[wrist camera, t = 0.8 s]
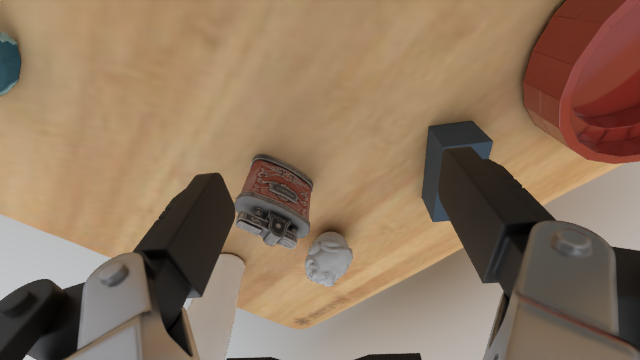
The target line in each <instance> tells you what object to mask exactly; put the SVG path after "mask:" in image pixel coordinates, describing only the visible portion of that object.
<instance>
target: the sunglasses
mask: <svg viewBox="0 0 640 360" xmlns="http://www.w3.org/2000/svg"><path fill="white" fill-rule="evenodd" d="M17 44H18V43H17V42H16V41H15V40H13V39H12V38H11V37H10V36H9V35H8V34H7V33H3V32H0V96H1V95H3V94H6V93H7V92H8V91H9V90H10V89H11V88H12V87H13V86H14V85H15V84H16V83H17V82H18V77H19V71H20V65H21V60H20V56H19V52H18V48H17Z"/></svg>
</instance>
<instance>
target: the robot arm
mask: <svg viewBox="0 0 640 360" xmlns="http://www.w3.org/2000/svg"><path fill="white" fill-rule="evenodd" d="M438 195H439V199H440V202H441V204H442V206H443V208H444V210H445V212H446V214H447V216H448V218H449V220H450V221H451V223H452V225H453V227H454V229H455V231H456V233H457V235H458V237H459V239H460V241H461V242H462V244H463V246H464V248H465V250H466V252H467V254H468V256H469V258H470V259H471V262H472V263H473V265H474V267H475V269H476V271H477V273H478V275H479V277H480V279H481V281H482V283H500V285H501V287H502V289H503V290H504V291H503V294H502V296H501V299H500V302H499V306H498V309H497V313H496V317H495V320H494V324H493V327H492V330H491V334H490V337H489V341H488V344H487V348H486V351H485V354H484V358H483V360H640V251H637V250H630V249H624V248H617V247H611V246H610V245H609V244H608V243H607V242H606V241H605V240H604V239H603V238H601V237H600V236H599V235H597V234H596V233H594V232H592V231H590V230H588V229H586V228H584V227H581V226H579V225H576V224H573V223H569V222H564V221H556V220H555V219H554V217H553V216H552V215H550V213H548V211H547V210H546V209H545V208H544V207H543V206H542V205H541V204H540V203H539V202H538V201H537V200H536V199H535V198H534V197H533V196H532V195H531V194H530V193H529V192H528V191H527V190H526V189H525V188H522V185H521V184H520V183H519V182H518V181H517V180H516V179H514V178H513V176H512V175H511V174H510V173H509V172H508V171H507V170H506V169H505V168H504V167H503V166H501V165H499V164H497V163H495V162H493V161H491V160H489V159H482V158H481V157H480V156H479V155H478V154H477V152H476V151H475V150H474V149H473V148H472V147H471V146H464V147H454V148H446V149H444V151H443V154H442V160H441V167H440V174H439V181H438ZM234 219H235V206H234V203H233V201H232V198H231V196H230V194H229V191H228V189H227V187H226V185H225V182H224V180H223V178H222V176H221V175H220V174H219V173H208V174H199V175H196V176H195V177H194V178H193V180H192V181H191V183H190V184H189V185H188V187H187V188H186V189H184V190H183V191H182V192H181V193H179V194H178V195H177V196H176V197H174V198H173V199H172V200H171V202H170V203H169V204H168V206H167V207H166V208H165V211H163V212H162V214H161V215H160V216H159V220H156V222H155V223H154V224H153V226H152V227H151V228H150V230H149V231H148V232H147V234H146V235H145V236H144V237H143V239H142V240H141V241H140V243H139V244H138V245H137V247H136V248H135V249H134V251H133V252H130V253H124V254H121V255H118V256H116V257H114V258H112V259H110V260H108V261H107V262H105V263H103V264H102V265H101V266H99V267H98V268H97V269H96V270H95V271H94V272H93V273H92V274H91V275H90V277H89V278H88V279H87V281H86V282H84V283H81V284H78V285H75V286H72V287H69V288H66V289H63V290H62V289H61V288H60V287H59V286H57V285H56V284H55V283H54V282H52V281H51V280H48V279H41V280H37V281H33V282H31V283H28V284H26V285H24V286H22V287H20V288H18V289H17V290H15V291H13V292H12V293H10V294H9V295H8V296H6V297H5V298H3V299H2V300H1V301H0V360H23V358H24V357H25V355H29V356H31V357H33V358H34V359H36V360H200V358H199V354H198V350H197V347H196V343H195V340H194V336H193V333H192V329H191V326H190V322H189V318H188V315H187V312H186V309H185V308H184V307H183V305H184V303H185V301H186V298H199V297H202V296H203V293H204V291H205V289H206V286H207V284H208V282H209V279H210V277H211V274H212V272H213V270H214V267H215V265H216V262H217V260H218V258H219V255H220V253H221V250H222V248H223V246H224V243H225V241H226V238H227V236H228V234H229V231H230V229H231V227H232V224H233V222H234ZM227 360H279V359H276V358H272V357H265V358H264V357H262V358H227ZM355 360H421V356H420V353H412V354H411V353H409V354H375V355H374V354H372V355H367V356H364V357H361V358H358V359H355Z"/></svg>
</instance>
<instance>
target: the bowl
mask: <svg viewBox="0 0 640 360" xmlns="http://www.w3.org/2000/svg"><path fill="white" fill-rule="evenodd" d="M523 91H524V106H525V108H526V110H527V112H528V113H529V115H530V117H531V119H532V120H533V122H534V124H535V125H537V126H538V127H539V128H541V129H542V130H544V131H545V132H547V133H548V134H549V135H551V136H552V137H554V138H555V139H557V140H558V141H560V142H561V143H562V144H564V145H565V146H567V147H568V148H570V149H571V150H573V151H574V152H576V153H578V154H579V155H581V156H582V157H584V158H586V159H588V160H593V161H599V162H605V163H612V164H619V163H628V162H638V161H640V0H566V1H565V2H564V3H563V5H562V6H561V7H560V8H559V9H558V10H557V11H556V12H555V13H554V16H552V18H551V20H550V21H549V23H548V25H547V27H546V28H545V30H544V32H543V33H542V35H541V37H540V38H539V40H538V42H537V43H536V45H535V47H534V48H533V51H532V53H531V56H530V60H529V63H528V67H527V70H526V73H525V77H524V80H523Z"/></svg>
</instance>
